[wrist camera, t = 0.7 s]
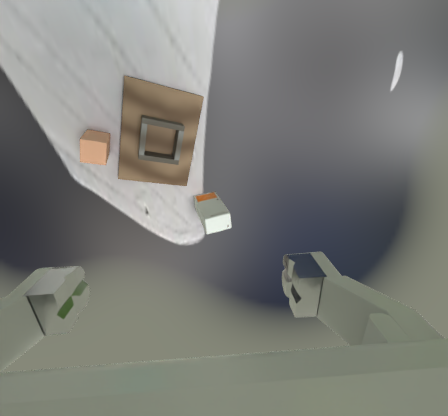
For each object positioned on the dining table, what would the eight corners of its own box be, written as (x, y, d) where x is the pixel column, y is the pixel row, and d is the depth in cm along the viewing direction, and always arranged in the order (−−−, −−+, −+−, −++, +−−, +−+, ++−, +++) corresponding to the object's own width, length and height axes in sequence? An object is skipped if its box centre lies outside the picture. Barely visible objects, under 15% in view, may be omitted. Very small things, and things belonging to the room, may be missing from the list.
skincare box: (215, 190, 61) (231, 212, 51) (216, 204, 64) (232, 228, 54) (192, 195, 60) (204, 219, 50) (194, 209, 62) (206, 235, 52)
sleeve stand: (124, 75, 43) (123, 75, 39) (201, 96, 49) (208, 98, 45) (118, 176, 52) (117, 185, 48) (185, 183, 58) (189, 192, 54)
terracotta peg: (87, 129, 46) (79, 138, 39) (110, 133, 47) (106, 143, 41) (87, 149, 47) (80, 162, 41) (109, 152, 49) (105, 165, 42)
